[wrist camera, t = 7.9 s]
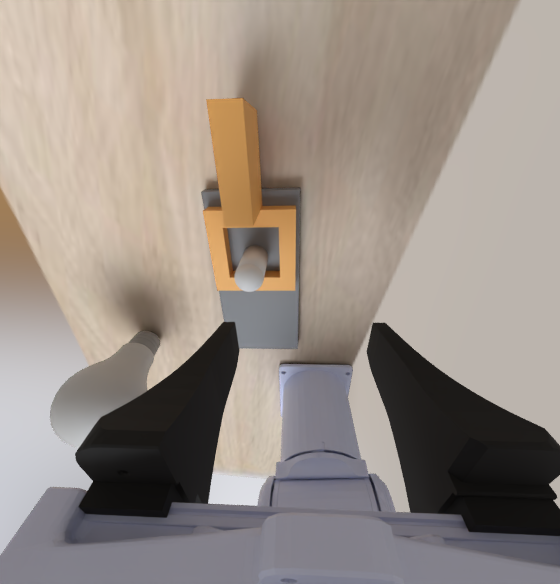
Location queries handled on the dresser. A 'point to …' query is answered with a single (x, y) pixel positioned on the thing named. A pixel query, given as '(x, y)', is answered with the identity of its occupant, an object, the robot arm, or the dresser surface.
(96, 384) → the lightbulb
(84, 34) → the dresser surface
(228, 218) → the orange loop handle block
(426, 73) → the dresser surface
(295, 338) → the keeper board
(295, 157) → the dresser surface
